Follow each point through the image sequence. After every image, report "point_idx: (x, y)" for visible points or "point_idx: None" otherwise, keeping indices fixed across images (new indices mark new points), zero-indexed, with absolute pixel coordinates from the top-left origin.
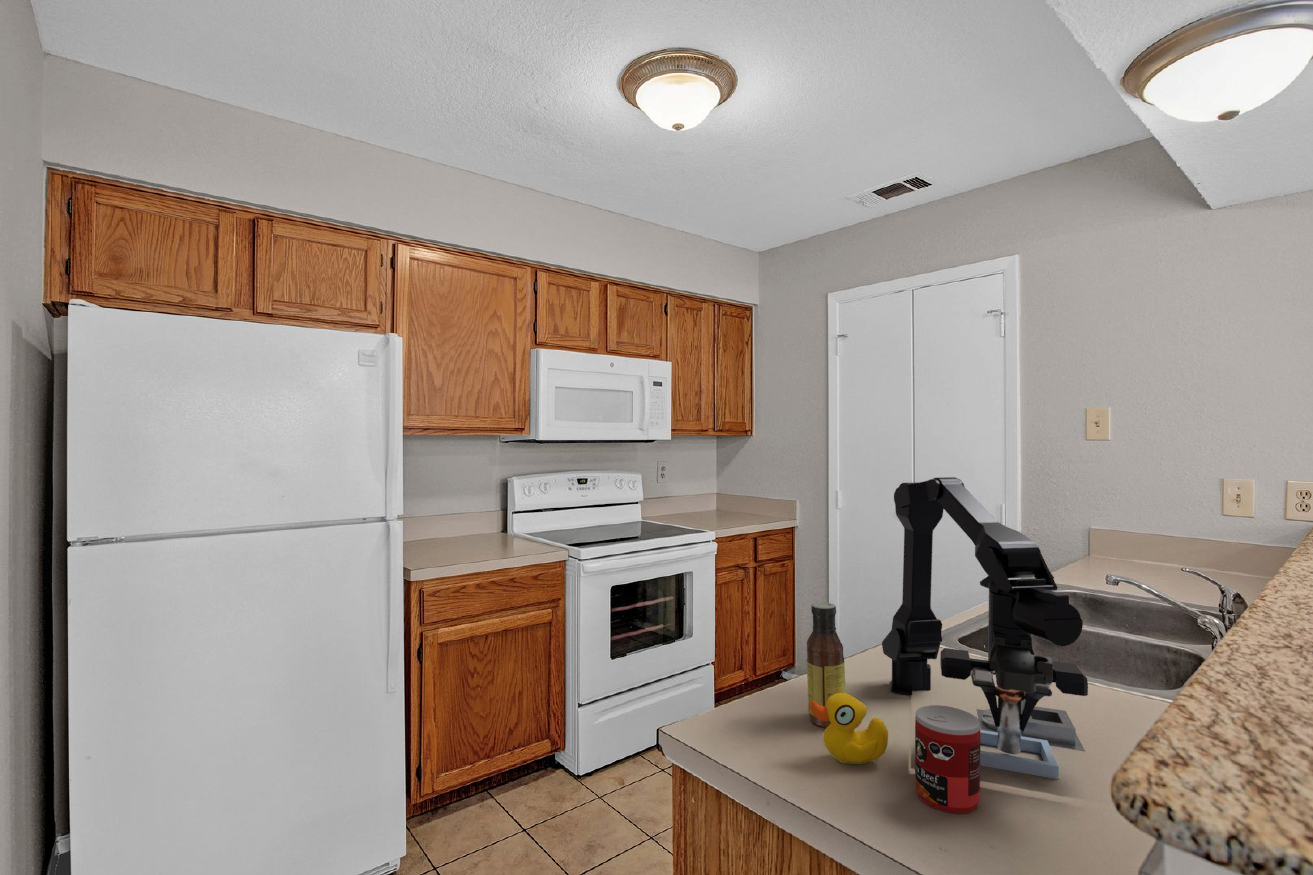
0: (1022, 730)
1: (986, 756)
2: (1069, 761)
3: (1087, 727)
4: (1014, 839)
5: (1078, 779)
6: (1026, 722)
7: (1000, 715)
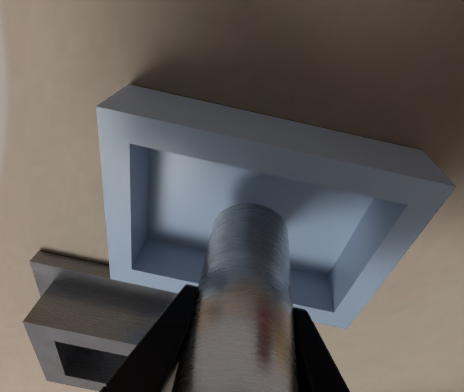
0: (191, 285)
1: (381, 167)
2: (78, 225)
3: None
4: None
5: (61, 133)
6: (162, 318)
7: (295, 364)
